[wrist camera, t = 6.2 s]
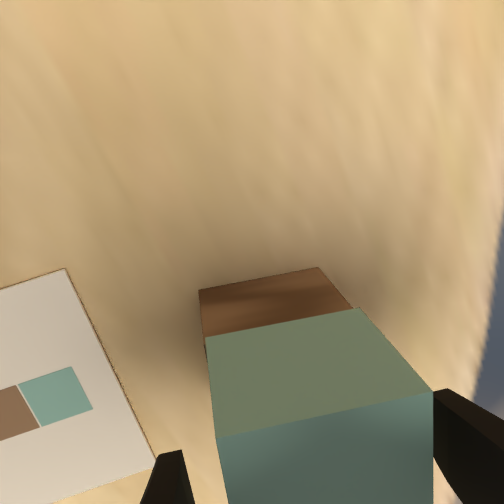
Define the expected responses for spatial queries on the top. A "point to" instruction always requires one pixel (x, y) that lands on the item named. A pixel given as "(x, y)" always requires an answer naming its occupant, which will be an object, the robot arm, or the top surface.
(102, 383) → the page
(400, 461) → the teal block
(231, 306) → the walnut block
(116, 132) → the top surface
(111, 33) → the top surface
